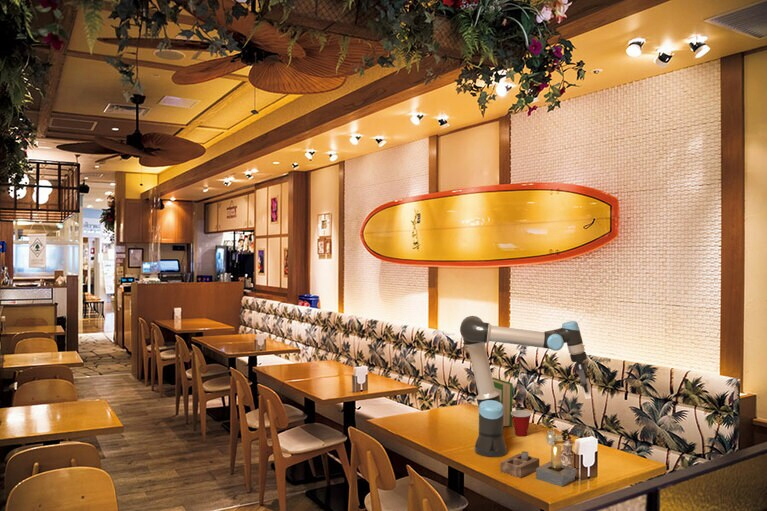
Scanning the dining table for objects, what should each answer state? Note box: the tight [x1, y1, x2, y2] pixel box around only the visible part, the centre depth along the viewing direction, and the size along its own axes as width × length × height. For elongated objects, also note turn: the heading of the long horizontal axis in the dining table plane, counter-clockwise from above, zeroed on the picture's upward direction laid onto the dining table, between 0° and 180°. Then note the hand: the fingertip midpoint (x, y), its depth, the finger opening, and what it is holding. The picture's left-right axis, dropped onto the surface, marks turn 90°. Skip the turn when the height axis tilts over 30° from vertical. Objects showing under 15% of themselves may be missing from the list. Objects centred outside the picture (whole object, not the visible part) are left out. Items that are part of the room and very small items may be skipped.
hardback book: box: [492, 377, 514, 428], centre depth 336 cm, size 18×7×24 cm, turn 25°
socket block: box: [535, 461, 577, 487], centre depth 252 cm, size 12×12×4 cm
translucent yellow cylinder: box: [550, 444, 562, 472], centre depth 252 cm, size 4×4×14 cm
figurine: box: [561, 438, 575, 468], centre depth 266 cm, size 7×7×12 cm
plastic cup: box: [511, 409, 532, 438], centre depth 314 cm, size 11×11×12 cm
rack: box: [499, 450, 540, 479], centre depth 261 cm, size 10×16×7 cm, turn 137°
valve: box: [546, 429, 572, 446], centre depth 301 cm, size 7×7×12 cm
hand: (588, 395), depth 291 cm, fingers open, 13 cm apart
